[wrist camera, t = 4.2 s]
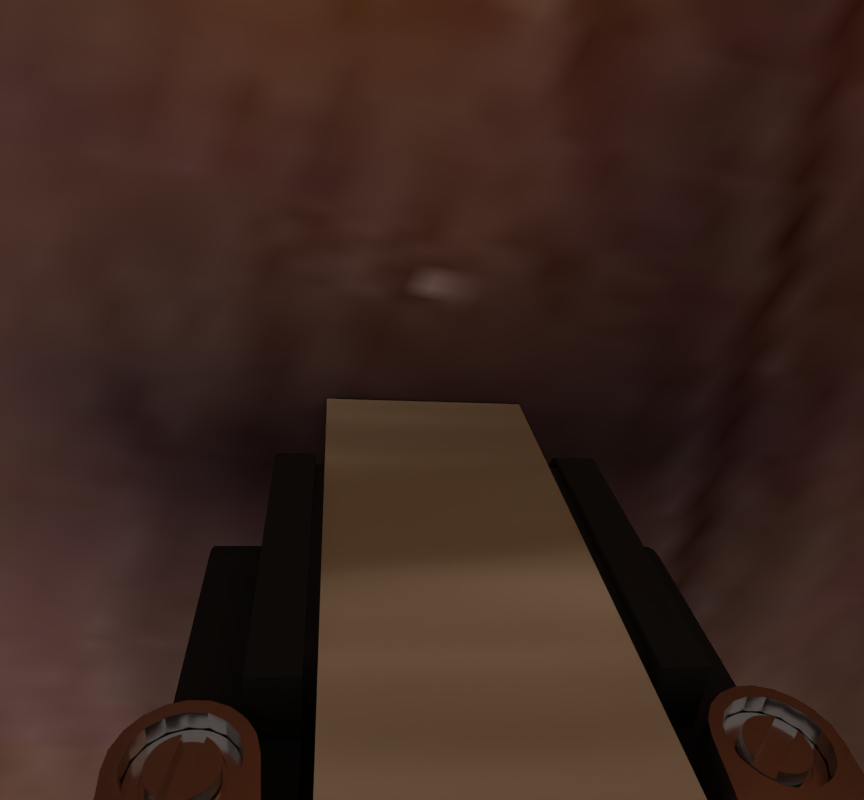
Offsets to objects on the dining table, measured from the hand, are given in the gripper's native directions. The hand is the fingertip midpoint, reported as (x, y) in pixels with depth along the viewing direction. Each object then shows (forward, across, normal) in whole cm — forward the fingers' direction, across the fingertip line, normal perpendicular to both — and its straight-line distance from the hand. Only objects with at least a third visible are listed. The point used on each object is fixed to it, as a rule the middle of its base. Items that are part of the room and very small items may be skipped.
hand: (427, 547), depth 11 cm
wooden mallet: (+2, 0, +8) cm, 8 cm away
